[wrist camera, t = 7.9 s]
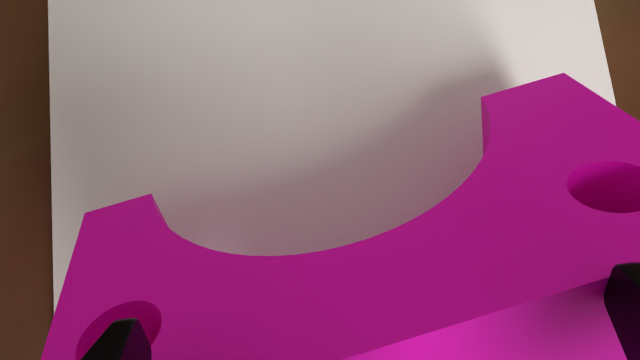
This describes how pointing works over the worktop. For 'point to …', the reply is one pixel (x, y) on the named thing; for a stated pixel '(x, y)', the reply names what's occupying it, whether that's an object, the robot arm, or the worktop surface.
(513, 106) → the toy block
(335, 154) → the mat
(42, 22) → the worktop surface
